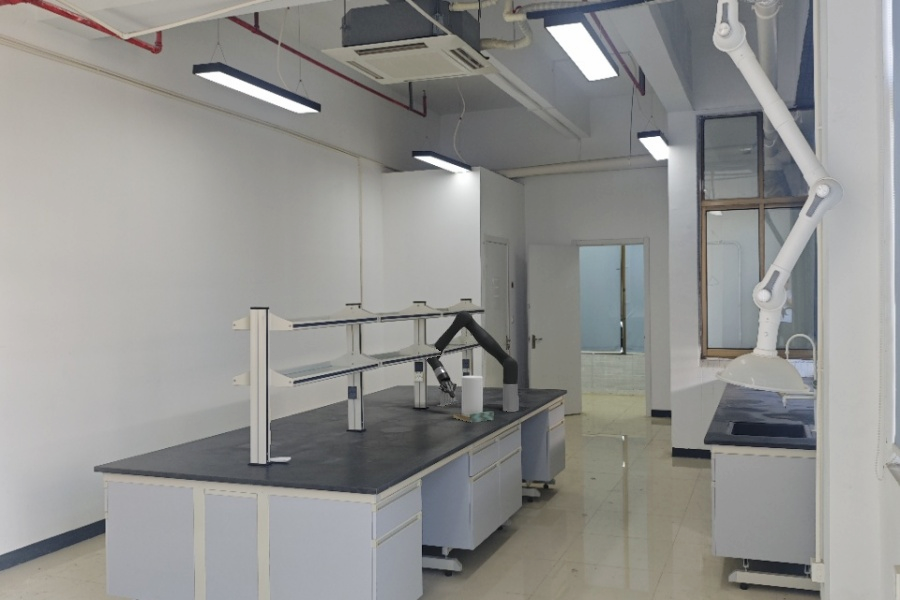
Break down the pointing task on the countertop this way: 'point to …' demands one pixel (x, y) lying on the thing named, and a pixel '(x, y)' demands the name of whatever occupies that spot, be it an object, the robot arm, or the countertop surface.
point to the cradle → (476, 417)
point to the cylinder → (472, 395)
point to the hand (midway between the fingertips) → (453, 397)
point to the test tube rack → (445, 398)
